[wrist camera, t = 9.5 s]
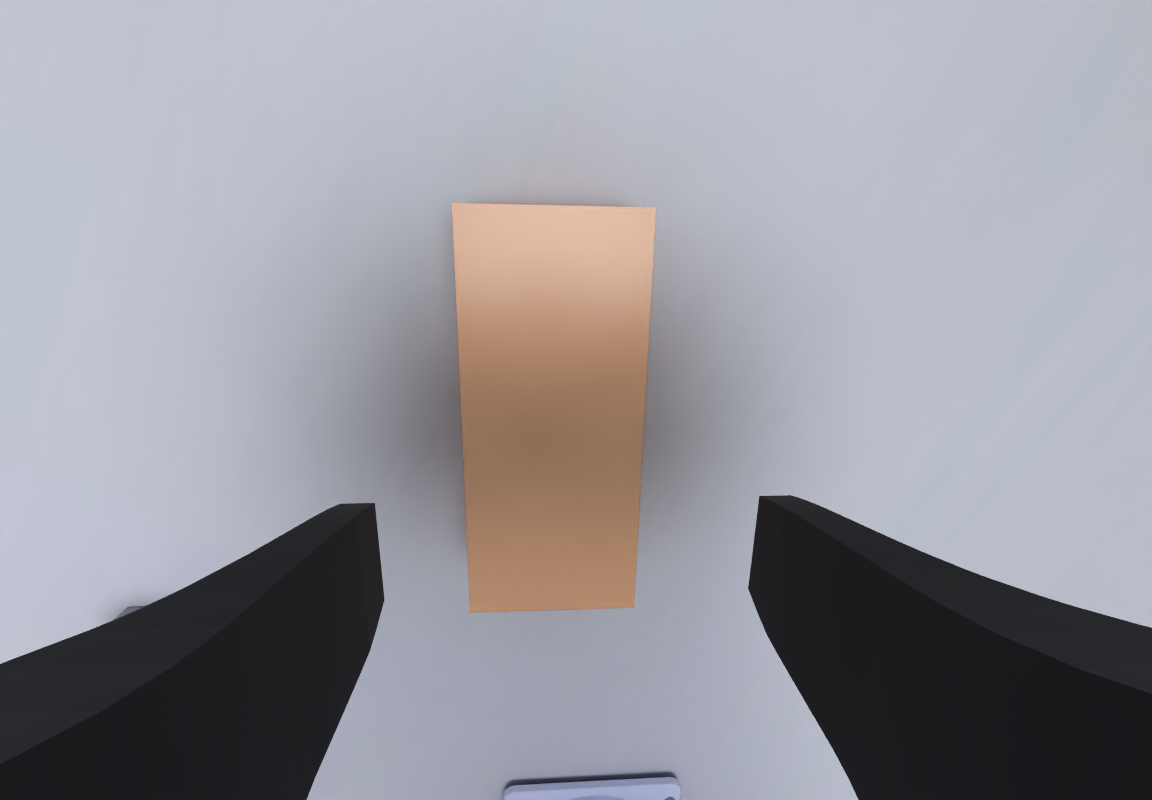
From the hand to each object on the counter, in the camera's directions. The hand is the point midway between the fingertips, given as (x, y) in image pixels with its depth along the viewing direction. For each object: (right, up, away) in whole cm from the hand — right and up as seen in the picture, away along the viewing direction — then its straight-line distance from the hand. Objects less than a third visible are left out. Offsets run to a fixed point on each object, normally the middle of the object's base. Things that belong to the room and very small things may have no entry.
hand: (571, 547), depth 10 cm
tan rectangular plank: (-1, +3, +9) cm, 10 cm away
